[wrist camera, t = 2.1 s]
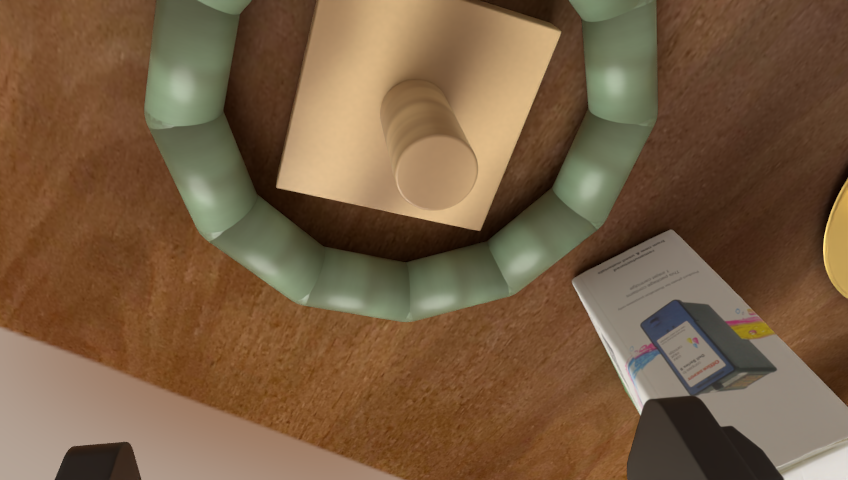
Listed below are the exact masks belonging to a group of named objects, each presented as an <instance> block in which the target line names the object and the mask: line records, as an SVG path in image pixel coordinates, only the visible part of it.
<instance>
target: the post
mask: <svg viewBox="0 0 848 480" xmlns="http://www.w3.org/2000/svg"><path fill="white" fill-rule="evenodd" d="M560 35H561V31H560V30H559V29H558V28H557V27H555V26H554V25H553V24H551V23H549V22H546V21H543V20H540V19H536V18H533V17H530V16H527V15H524V14H521V13H518V12H515V11H511V10H508V9H505V8H502V7H499V6H496V5H493V4H490V3H486V2H483V1H480V0H317V1H316V5H315V10H314V14H313V18H312V23H311V27H310V32H309V36H308V41H307V45H306V49H305V54H304V58H303V63H302V67H301V71H300V76H299V80H298V85H297V89H296V94H295V98H294V102H293V107H292V111H291V116H290V120H289V125H288V129H287V133H286V138H285V142H284V147H283V151H282V155H281V160H280V164H279V169H278V173H277V181H276V188H280V189H284V190H289V191H294V192H298V193H303V194H308V195H312V196H317V197H322V198H326V199H331V200H336V201H340V202H345V203H350V204H355V205H359V206H364V207H369V208H373V209H378V210H383V211H387V212H392V213H397V214H401V215H406V216H411V217H416V218H420V219H425V220H430V221H434V222H439V223H444V224H448V225H453V226H458V227H462V228H467V229H472V230H476V231H481V228H482V226H483V223H484V221H485V219H486V216H487V214H488V211H489V209H490V206H491V204H492V201H493V199H494V196H495V194H496V192H497V189H498V187H499V184H500V182H501V179H502V177H503V174H504V172H505V170H506V167H507V165H508V162H509V160H510V157H511V155H512V152H513V150H514V148H515V145H516V143H517V140H518V138H519V135H520V133H521V130H522V128H523V125H524V123H525V121H526V118H527V116H528V113H529V111H530V108H531V106H532V103H533V101H534V99H535V96H536V94H537V91H538V89H539V86H540V84H541V81H542V79H543V77H544V74H545V72H546V69H547V67H548V64H549V62H550V59H551V57H552V54H553V52H554V50H555V47H556V45H557V42H558V40H559V37H560Z"/></svg>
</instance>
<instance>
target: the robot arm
mask: <svg viewBox="0 0 848 480" xmlns="http://www.w3.org/2000/svg"><path fill="white" fill-rule="evenodd" d="M627 479H628V480H784V478H783V477H782V475H781V474H780V473H779V471H778V470H777V469H776V467H775V466H774V465H773V463H772V462H771V461H770V459H769V458H768V457H767V455H766V454H765V453H764V451H763V450H762V449H761V448H760V447H758V446H757V445H756V444H755V443H753V442H752V441H751V440H749V439H748V438H747V437H746V436H744V435H743V434H742V433H741V432H739V431H738V430H737V429H736V428H734V427H733V426H723V427H721V426H720V425H719V424H718V422H717V421H716V419H715V418H714V416H713V415H712V414H711V412H710V411H709V409H708V408H707V406H706V405H705V404H704V402H703V401H702V400H701V399H700V398H698V397H696V396H679V397H668V398H656V399H649V400H647V401H646V402H645V404H644V406H643V409H642V413H641V416H640V420H639V423H638V426H637V430H636V433H635V437H634V440H633V444H632V447H631V451H630V454H629V458H628V462H627ZM55 480H141V477H140V473H139V470H138V466H137V463H136V460H135V456H134V452H133V449H132V447H131V445H130V444H129V443H128V442H119V443H107V444H96V445H84V446H74V447H71V448H70V449H69V450H68V452H67V453H66V455H65V457H64V459H63V461H62V463H61V466H60V469H59V471H58V473H57V476H56V478H55Z"/></svg>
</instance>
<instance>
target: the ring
mask: <svg viewBox="0 0 848 480" xmlns="http://www.w3.org/2000/svg"><path fill="white" fill-rule="evenodd" d="M251 1H252V0H156V8H155V17H154V26H153V35H152V44H151V53H150V61H149V70H148V79H147V88H146V97H145V106H144V114H145V119H146V122H147V125H148V127H149V129H150V131H151V133H152V136H153V138H154V140H155V142H156V144H157V146H158V148H159V150H160V152H161V154H162V156H163V159H164V161H165V163H166V165H167V167H168V169H169V171H170V173H171V175H172V177H173V179H174V182H175V184H176V186H177V188H178V190H179V192H180V194H181V196H182V198H183V200H184V203H185V205H186V207H187V209H188V211H189V213H190V215H191V217H192V219H193V221H194V223H195V226H196V228H197V229H198V231H199V233H200V234H201V235H202V236H203V237H204V238H205V239H206V240H207V241H209V242H210V243H212V244H213V245H214V246H216V247H217V248H219V249H220V250H221V251H223V252H224V253H226V254H227V255H228V256H230V257H231V258H233V259H234V260H235V261H237V262H238V263H240V264H241V265H243V266H244V267H245V268H247V269H248V270H250V271H251V272H252V273H254V274H255V275H257V276H258V277H259V278H261V279H262V280H264V281H265V282H266V283H268V284H269V285H271V286H272V287H273V288H275V289H276V290H278V291H279V292H280V293H282V294H283V295H285V296H286V297H288V298H289V299H290V300H292V301H293V302H295V303H297V304H300V305H304V306H310V307H316V308H322V309H328V310H334V311H340V312H346V313H352V314H358V315H364V316H370V317H376V318H382V319H388V320H394V321H400V322H412V321H416V320H420V319H424V318H428V317H432V316H436V315H440V314H443V313H447V312H451V311H455V310H459V309H463V308H466V307H470V306H474V305H478V304H482V303H486V302H489V301H493V300H497V299H501V298H505V297H509V296H511V295H514V294H515V293H517V292H519V291H520V290H521V289H523V288H524V287H525V286H527V285H528V284H529V283H530V282H532V281H533V280H534V279H535V278H537V277H538V276H539V275H541V274H542V273H543V272H544V271H546V270H547V269H548V268H549V267H551V266H552V265H553V264H555V263H556V262H557V261H558V260H560V259H561V258H562V257H563V256H565V255H566V254H567V253H569V252H570V251H571V250H572V249H574V248H575V247H576V246H577V245H579V244H580V243H581V242H583V241H584V240H585V239H586V238H588V237H589V236H590V235H591V234H593V233H594V232H595V231H597V230H598V229H599V228H600V227H601V226H602V225H603V224H604V222H605V221H606V219H607V217H608V215H609V213H610V211H611V209H612V207H613V205H614V203H615V201H616V199H617V197H618V195H619V193H620V191H621V190H622V188H623V186H624V184H625V182H626V180H627V178H628V176H629V174H630V172H631V170H632V168H633V166H634V164H635V162H636V160H637V158H638V156H639V154H640V152H641V150H642V148H643V146H644V144H645V142H646V140H647V138H648V137H649V135H650V133H651V131H652V129H653V127H654V125H655V122H656V120H657V114H658V77H657V15H656V0H569V2H570V3H571V5H572V6H573V7H574V9H575V10H576V11H577V13H578V14H579V15H580V17H581V19H582V32H583V44H584V57H585V70H586V83H587V96H588V110H587V112H586V114H585V116H584V119H583V121H582V123H581V125H580V127H579V130H578V132H577V134H576V136H575V138H574V141H573V143H572V145H571V147H570V150H569V152H568V154H567V156H566V158H565V161H564V163H563V165H562V167H561V169H560V172H559V174H558V176H557V178H556V180H555V183H554V185H553V187H552V188H551V189H550V190H548V191H547V192H546V193H545V194H543V195H542V196H541V197H540V198H539V199H537V200H536V201H535V202H534V203H533V204H531V205H530V206H529V207H528V208H527V209H525V210H524V211H523V212H522V213H520V214H519V215H518V216H517V217H516V218H514V219H513V220H512V221H511V222H510V223H508V224H507V225H506V226H505V227H503V228H502V229H501V230H500V231H499V232H497V233H496V234H495V235H494V236H493V237H491V238H490V239H489V240H488V241H486V242H482V243H478V244H474V245H471V246H467V247H463V248H459V249H455V250H451V251H447V252H444V253H440V254H436V255H432V256H428V257H424V258H420V259H417V260H413V261H409V262H401V261H396V260H391V259H386V258H381V257H376V256H370V255H365V254H360V253H355V252H350V251H344V250H339V249H334V248H329V247H324V246H322V245H321V244H320V243H318V242H317V241H316V240H315V239H313V238H312V237H311V236H310V235H308V234H307V233H306V232H304V231H303V230H302V229H301V228H299V227H298V226H297V225H296V224H294V223H293V222H292V221H290V220H289V219H288V218H287V217H285V216H284V215H283V214H282V213H280V212H279V211H278V210H276V209H275V208H274V207H273V206H271V205H270V204H269V203H268V202H266V201H265V200H264V199H262V198H261V197H260V196H259V195H257V193H256V191H255V188H254V186H253V183H252V181H251V178H250V176H249V173H248V171H247V168H246V166H245V163H244V161H243V159H242V156H241V154H240V151H239V149H238V146H237V144H236V141H235V139H234V136H233V134H232V131H231V129H230V126H229V124H228V121H227V119H226V116H225V114H224V112H223V109H224V104H225V98H226V92H227V86H228V81H229V75H230V69H231V63H232V58H233V52H234V46H235V40H236V35H237V29H238V23H239V17H240V13H241V12H242V11H243V10H244V9H245V7H246V6H247V5H248V4H249V3H250V2H251Z"/></svg>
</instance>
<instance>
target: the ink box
mask: <svg viewBox="0 0 848 480" xmlns="http://www.w3.org/2000/svg"><path fill="white" fill-rule="evenodd" d="M572 283H573V286H574V287H575V289H576V291H577V293H578V295H579V297H580V299H581V301H582V303H583V305H584V307H585V309H586V311H587V313H588V315H589V317H590V319H591V321H592V323H593V325H594V327H595V329H596V331H597V333H598V335H599V337H600V339H601V341H602V343H603V345H604V347H605V349H606V351H607V353H608V355H609V357H610V359H611V361H612V363H613V365H614V367H615V369H616V371H617V373H618V375H619V377H620V379H621V382H622V384H623V386H624V388H625V391H626V392H627V394H628V395H629V397H630V399H631V400H632V402H633V404H634V405H635V407H636V408H637V410H638V412H639V413H640V415H641V413H642V409H643V406H644V404H645V402H646V401H647V400H649V399H656V398H668V397H679V396H696V397H698V398H700V399H701V400H702V401H703V402H704V404H705V405H706V406H707V408H708V409H709V411H710V412H711V414H712V415H713V416H714V418H715V419H716V421H717V422H718V424H719V425H720V426H721V427H723V426H733V427H734V428H736V429H737V430H738V431H739V432H741V433H742V434H743V435H744V436H746V437H747V438H748V439H749V440H751V441H752V442H753V443H755V444H756V445H757V446H758V447H760V448H761V449H762V450H763V451H764V453H765V454H766V455H767V457H768V458H769V459H770V461H771V462H772V463H773V465H774V466H775V467H776V469H777V470H778V471H779V473H780V474H781V475H782V477H783V478H784V480H848V407H847V406H846V405H845V404H844V403H843V402H842V401H841V400H840V399H839V398H838V397H837V396H836V395H835V393H834V392H833V391H832V390H831V389H830V388H829V387H828V386H827V385H826V384H825V383H824V382H823V381H822V380H821V379H820V378H819V377H818V376H817V375H816V374H815V373H814V372H813V371H812V370H811V369H810V368H809V367H808V366H807V365H806V364H805V363H804V362H803V361H802V360H801V359H800V358H799V357H798V356H797V355H796V354H795V353H794V352H793V351H792V350H791V349H790V348H789V347H788V346H787V345H786V343H785V342H783V341H782V340H781V339H780V338H779V337H778V336H777V335H776V334H775V333H774V332H773V331H772V330H771V329H770V328H769V326H768V325H767V324H766V323H765V322H764V321H763V320H762V319H761V318H760V317H759V316H758V315H757V314H756V313H755V312H754V311H753V310H752V309H751V308H750V307H749V306H748V305H747V304H746V303H745V301H744V300H743V299H742V298H741V297H740V296H739V295H738V294H737V293H735V291H734V290H733V289H732V288H731V287H730V286H729V285H728V284H727V283H726V282H725V281H724V280H723V279H722V278H721V277H720V276H719V275H718V274H717V273H716V272H715V271H714V270H713V269H712V268H711V267H710V266H709V265H708V264H707V263H706V262H705V261H704V260H703V259H702V258H701V257H700V256H699V255H698V254H697V253H696V252H695V251H694V250H693V249H692V248H691V247H690V246H689V245H688V244H687V243H686V242H685V241H684V240H683V239H682V238H681V237H680V236H679V235H678V234H676V232H675V231H673V230H668V231H666V232H664V233H662V234H660V235H658V236H655V237H653V238H651V239H649V240H647V241H645V242H643V243H641V244H639V245H637V246H635V247H633V248H631V249H629V250H627V251H625V252H623V253H621V254H619V255H617V256H615V257H614V258H611V259H609V260H607V261H605V262H603V263H601V264H599V265H597V266H596V267H593V268H591V269H589V270H587V271H585V272H584V273H582V274H580V275H579V276H577V277H575V278H573V280H572Z"/></svg>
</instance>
